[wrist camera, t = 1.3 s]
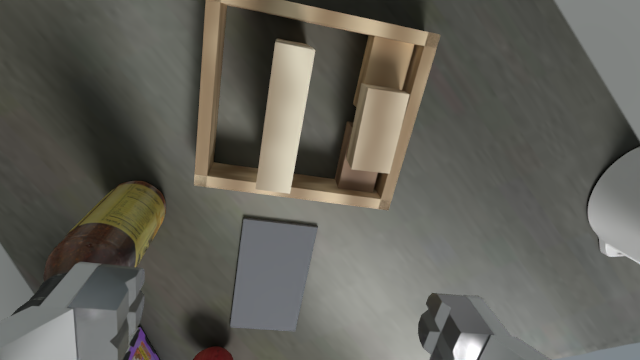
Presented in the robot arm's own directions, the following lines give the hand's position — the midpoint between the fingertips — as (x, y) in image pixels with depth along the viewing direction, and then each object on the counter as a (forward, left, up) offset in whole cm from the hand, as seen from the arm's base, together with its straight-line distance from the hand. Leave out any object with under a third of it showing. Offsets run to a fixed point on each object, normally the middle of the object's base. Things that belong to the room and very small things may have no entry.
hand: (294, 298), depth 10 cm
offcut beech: (-9, 0, -27) cm, 29 cm away
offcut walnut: (-9, +5, -30) cm, 32 cm away
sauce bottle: (+14, +14, -30) cm, 36 cm away
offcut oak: (-9, -4, -30) cm, 32 cm away
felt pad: (-2, +23, -30) cm, 38 cm away
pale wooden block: (0, 0, -30) cm, 30 cm away
